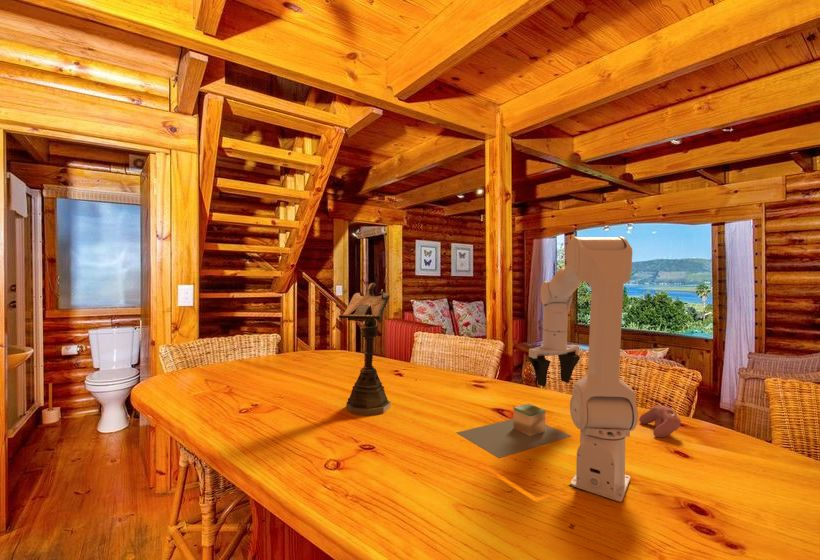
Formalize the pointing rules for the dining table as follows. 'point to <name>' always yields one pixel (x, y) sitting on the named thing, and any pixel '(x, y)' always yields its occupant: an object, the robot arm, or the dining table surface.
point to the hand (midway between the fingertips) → (553, 383)
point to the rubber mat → (509, 438)
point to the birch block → (529, 419)
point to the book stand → (367, 354)
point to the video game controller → (661, 420)
